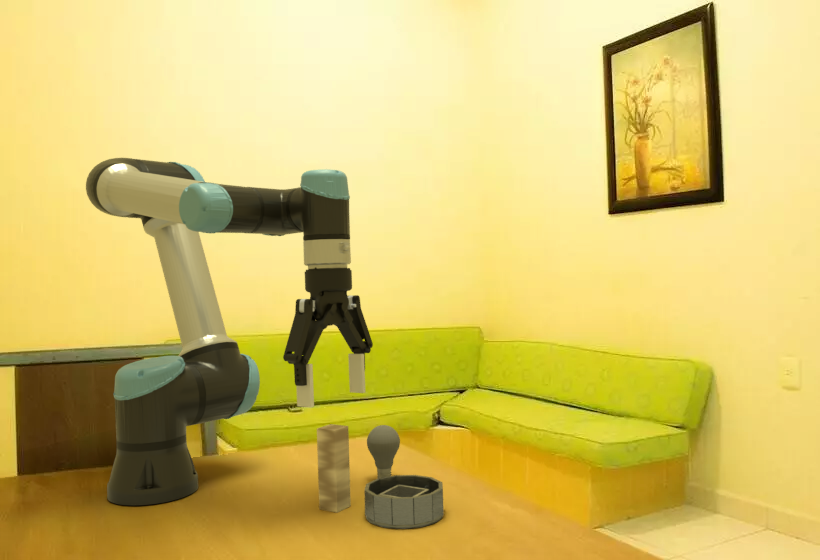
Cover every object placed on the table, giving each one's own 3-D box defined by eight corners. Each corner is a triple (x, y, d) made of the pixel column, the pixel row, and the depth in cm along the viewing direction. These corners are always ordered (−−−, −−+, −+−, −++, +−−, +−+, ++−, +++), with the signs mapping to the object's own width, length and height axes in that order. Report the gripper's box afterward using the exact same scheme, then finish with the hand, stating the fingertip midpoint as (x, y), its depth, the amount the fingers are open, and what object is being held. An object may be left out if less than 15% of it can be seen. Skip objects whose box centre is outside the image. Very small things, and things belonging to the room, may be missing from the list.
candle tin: (350, 521, 109) (349, 491, 109) (393, 498, 120) (392, 471, 119) (418, 534, 103) (417, 503, 103) (457, 509, 113) (456, 480, 113)
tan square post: (319, 509, 115) (316, 428, 115) (333, 502, 118) (330, 424, 118) (337, 512, 113) (334, 430, 113) (350, 505, 116) (348, 426, 116)
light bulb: (397, 485, 126) (395, 429, 126) (364, 484, 128) (362, 428, 128) (404, 476, 132) (402, 422, 132) (372, 475, 134) (371, 421, 133)
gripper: (294, 267, 103) (300, 415, 103) (389, 265, 124) (394, 388, 124) (256, 268, 107) (261, 411, 107) (354, 267, 128) (359, 386, 128)
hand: (332, 399), depth 115 cm, fingers open, 13 cm apart
